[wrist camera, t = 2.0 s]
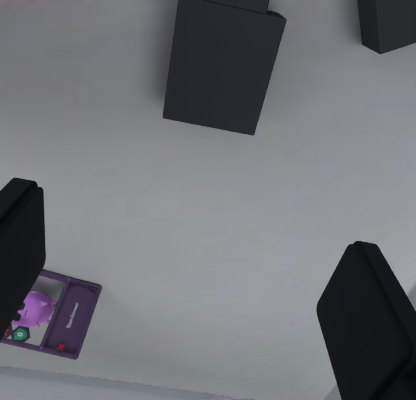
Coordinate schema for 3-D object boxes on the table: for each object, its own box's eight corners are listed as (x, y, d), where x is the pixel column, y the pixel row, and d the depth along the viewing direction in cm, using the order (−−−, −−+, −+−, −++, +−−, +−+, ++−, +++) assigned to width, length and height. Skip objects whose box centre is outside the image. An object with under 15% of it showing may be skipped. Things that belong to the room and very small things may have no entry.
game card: (78, 357, 31) (-36, 330, 29) (74, 370, 35) (-27, 347, 33) (103, 283, 35) (5, 256, 33) (97, 302, 39) (9, 279, 37)
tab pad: (167, 103, 26) (162, 118, 23) (192, -80, 20) (190, -87, 18) (250, 119, 26) (254, 135, 24) (296, -55, 21) (308, -57, 18)
